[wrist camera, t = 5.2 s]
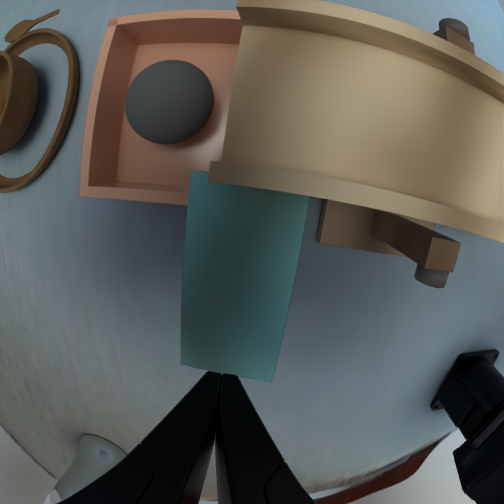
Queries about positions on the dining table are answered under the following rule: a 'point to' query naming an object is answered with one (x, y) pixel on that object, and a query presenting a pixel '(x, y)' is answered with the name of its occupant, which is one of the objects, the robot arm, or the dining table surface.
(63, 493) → the beer glass
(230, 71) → the dish
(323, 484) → the dining table surface
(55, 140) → the place setting
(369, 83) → the lever
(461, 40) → the lever stand
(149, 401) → the dining table surface
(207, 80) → the ball
